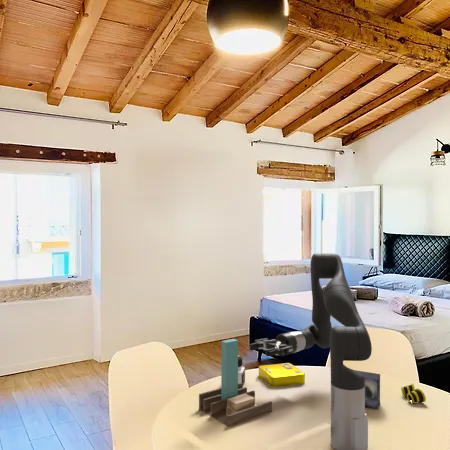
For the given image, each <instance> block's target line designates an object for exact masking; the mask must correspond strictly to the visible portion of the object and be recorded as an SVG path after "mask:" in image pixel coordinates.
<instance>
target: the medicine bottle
mask: <svg viewBox="0 0 450 450" xmlns="http://www.w3.org/2000/svg"><path fill="white" fill-rule="evenodd" d="M240 382H242V383H243V386H244V385H245V383H246V368H245V366H243V357H242V356H240V355H238V383H240Z"/></svg>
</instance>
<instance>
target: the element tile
mask: <svg viewBox="0 0 450 450" xmlns="http://www.w3.org/2000/svg"><path fill="white" fill-rule="evenodd" d="M305 374H306V373H305V372H304V371H302V370H301V369H299V368H298V367H297V366H295V365H293V364H292V363H290V362H285V363H276V364H264V365H259V366H258V378H260V379H261V380H262V381H263V382H264V383H265V384H267V385H268V386H269V387H271V388H280V387H289V386H299V385H304V384H305V380H306V377H305Z"/></svg>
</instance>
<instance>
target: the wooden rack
mask: <svg viewBox="0 0 450 450" xmlns="http://www.w3.org/2000/svg"><path fill="white" fill-rule="evenodd" d="M255 392H256V391H255V390H250V391H248V387H246V386H245V387H244V385H243V383H242V382H240V383H238V395H237V396H239V395H243V394H247V395H249V396H252V397H254V398H255V399H256V393H255ZM233 397H236V396H233ZM233 397H230V398H233ZM227 399H229V398H227ZM227 399H223V400H221V387H219V388H216V389H212V390H208V391H205V392H201V393H199V394H198V410H199V411H201V412H203V413H205V414H206V415H208V416H209V417H211V418H213V419H215V420H216V421H218V422H219V423H222V424H223V425H225V426H227V427H232V426H234V425H237V424H241V423H244V422H246V421H250V420H253V419H254V418H255V419H256V418H258V417H261V416H264V415H267V414H270V413H272V412H273V401H271V400H270V401H267V402H264V403H261V404H257V403H256V402H255V404H257V406H254V407H251V408H248V409H245V410H242V411H239V412H236V413H233V414H230V415H226V407H227Z"/></svg>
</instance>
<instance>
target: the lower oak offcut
mask: <svg viewBox="0 0 450 450" xmlns="http://www.w3.org/2000/svg"><path fill="white" fill-rule="evenodd" d="M255 406H257V403H256V404H255ZM253 407H254V406H253ZM250 408H251V407H250ZM247 409H248V408H247ZM244 410H245V409H244ZM240 411H242V410H240ZM237 412H239V411H237ZM233 413H236V411H234V410H232V409H230V408H228V407H226V415H230V414H233Z"/></svg>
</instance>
